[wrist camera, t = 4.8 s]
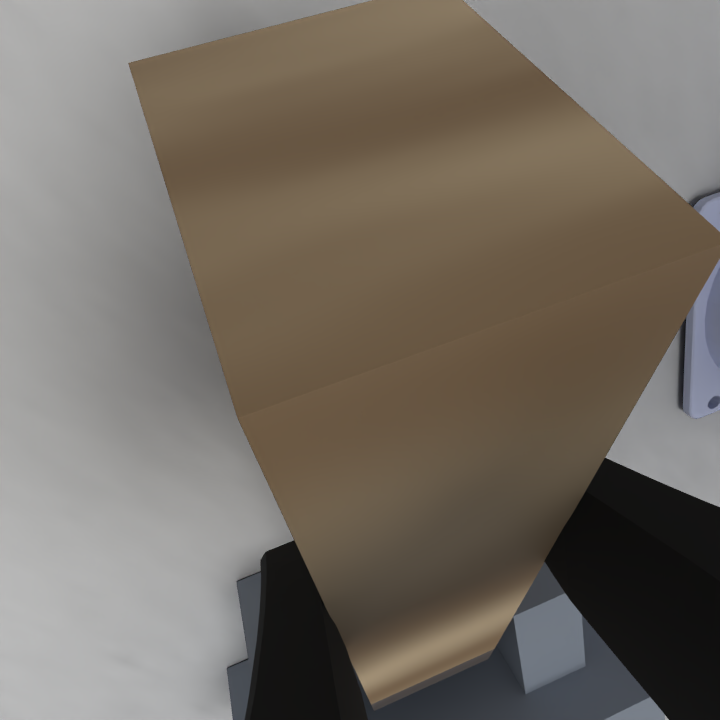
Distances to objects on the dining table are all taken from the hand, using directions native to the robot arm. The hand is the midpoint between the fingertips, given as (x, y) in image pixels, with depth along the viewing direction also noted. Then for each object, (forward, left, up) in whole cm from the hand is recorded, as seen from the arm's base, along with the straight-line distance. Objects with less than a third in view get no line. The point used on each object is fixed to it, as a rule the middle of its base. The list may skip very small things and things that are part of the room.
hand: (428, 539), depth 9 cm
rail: (0, 0, -4) cm, 4 cm away
